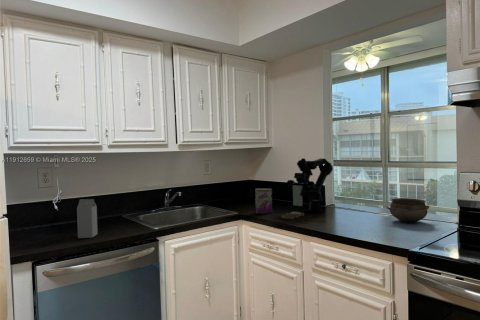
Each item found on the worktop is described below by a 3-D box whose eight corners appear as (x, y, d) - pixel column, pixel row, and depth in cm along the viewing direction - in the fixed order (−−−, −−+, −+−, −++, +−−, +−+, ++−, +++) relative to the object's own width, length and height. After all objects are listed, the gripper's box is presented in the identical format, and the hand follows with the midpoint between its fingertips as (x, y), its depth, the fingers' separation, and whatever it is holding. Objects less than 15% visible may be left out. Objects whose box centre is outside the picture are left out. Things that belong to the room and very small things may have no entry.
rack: (293, 215, 206) (293, 211, 205) (304, 216, 200) (304, 212, 200) (281, 218, 196) (281, 214, 196) (292, 220, 190) (292, 216, 190)
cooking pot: (417, 217, 192) (417, 197, 192) (440, 224, 174) (440, 202, 173) (378, 219, 190) (378, 198, 189) (397, 226, 171) (397, 204, 170)
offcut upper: (292, 214, 203) (292, 212, 203) (300, 215, 199) (300, 213, 199) (288, 215, 200) (288, 213, 200) (297, 216, 196) (297, 214, 196)
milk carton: (83, 234, 167) (82, 198, 167) (97, 234, 168) (96, 198, 167) (77, 238, 160) (76, 200, 160) (92, 237, 161) (91, 200, 160)
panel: (294, 204, 205) (294, 185, 204) (302, 205, 201) (302, 185, 201) (293, 205, 203) (292, 185, 203) (300, 206, 200) (300, 186, 199)
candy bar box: (255, 214, 212) (254, 189, 211) (255, 212, 217) (255, 188, 216) (272, 214, 211) (271, 189, 210) (272, 212, 216) (271, 188, 215)
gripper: (288, 167, 210) (278, 186, 203) (313, 168, 198) (304, 188, 190) (294, 178, 217) (285, 197, 209) (319, 180, 204) (311, 199, 196)
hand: (296, 195), depth 201 cm, fingers closed on panel, 5 cm apart
